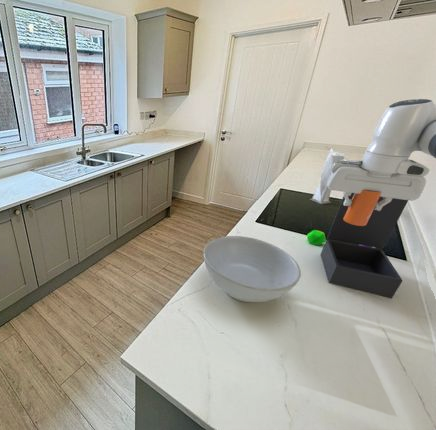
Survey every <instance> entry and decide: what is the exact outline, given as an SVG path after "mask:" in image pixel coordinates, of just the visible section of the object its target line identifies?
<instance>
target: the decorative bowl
mask: <svg viewBox="0 0 436 430" xmlns="http://www.w3.org/2000/svg"><path fill="white" fill-rule="evenodd" d="M203 261H204V265H205V268H206V271H207V273H208V275H209V276H210V278H211V280H212V281H213V282H214V283H215V285H216V286H217V287H218V288H219V289H221V290H222V291H223V292H224V293H226V295H228V296H229V297H231V298H232V299H234V300H237V301H240V302H243V303H261V302H262V303H263V302H269V301H272V300H275V299H278V298H280V297H282V296H284V295H285V294H287V293H289V292H290V291H291V290H293V288H294V287H295V286H296V285H297V284H298V283H299V281H300V279H301V276H302V272H301V268H300V266H299V264H298V262H297V261H296V260H295V259H294V258H293V257H292V256H291V255H290V254H289V253H288V252H287V251H285V250H283V249H281V248H280V247H278V246H276V245H275V244H272V243H269V242H267V241H264V240H262V239H258V238H254V237H248V236H241V235H227V236H220V237H217V238H214V239H212V240H209V242H207V244H206V245H205V246H204V248H203Z"/></svg>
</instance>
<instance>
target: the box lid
mask: <svg viewBox="0 0 436 430" xmlns="http://www.w3.org/2000/svg"><path fill="white" fill-rule="evenodd" d="M353 196H354V193H351V195H350V196H348V198H349V199H351V200H352V198H353ZM382 200H383V198H382V197H380V198H379V200H378V202H377V203H379V202H380V201H382ZM344 201H345V197H344V195H343V196H342V198H341V202H340V204H339V206H338V209H337V212H336V213H335V217H334V219H333V221H332V224H331V226H330V228H329V231H328V234H327V236H326V239H329V240H334V241H339V242H345V243H350V244H355V245H359V244H360V245H365V246H371V247H375V248H377V249H382V250H383V249H384V248H385V246H386V244H387V243H388V241H389V239H390V236H391V235H392V233H393V231H394V229H395V227H396V225H397V223H398V221H399V219H400V217H401V215H402V214H403V211H404V210H405V208H406V206H407V203H408V202H409V200H403V199H395V198H392V200H391V202H389V203H388V204H386V205H384V206H383V207H382V209H381V210H380V211H377V210H373V212H372V214H371V216H370V218H369V220H368V222H367V224H366V225H365V226H357V225H353V224H350V223H347V222H345V221H344V220H343V218H344V216H345V214H346V211H347V209H348V207H349V206H344V204H343V203H344Z"/></svg>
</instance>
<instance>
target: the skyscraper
mask: <svg viewBox="0 0 436 430" xmlns="http://www.w3.org/2000/svg"><path fill="white" fill-rule="evenodd" d="M345 157H346V155H345V152H342V153H341V152H339V151H337V152H336V151H334V149H333V147H331V148H330V150H329V153H328V155H327V157H326V159H325V161H324V164H323V167H322V169H321V173H320V179H319V184H318V186H317V188H316V190H315V192H314V193H313V196H312V198H309V200H310V201H312V202H314V203H317V204H320V205H327V204H331V203H332V201H331V200H330V198H331V197H330V196H331V194H332V193H331V192H332V190H330V189H329V188H328V186H327V181H328V179H329V177H330V176H331V174H332V168H333V165H334V164H335V163H336V162H338V161H342V160H345ZM339 163H341V162H339Z"/></svg>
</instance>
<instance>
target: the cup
mask: <svg viewBox="0 0 436 430" xmlns="http://www.w3.org/2000/svg"><path fill="white" fill-rule="evenodd" d="M380 194H381V192H379V191H371V190H362V192H361V193H360V194H357V193H354V196H353V198H352V201H353V202H352V204H351V206H349V207H348V209H347V211H346V214H345V216H344V218H343V220H344V221H345V222H347V223H350V224H353V225H357V226H365V225H366V224H367V222H368V220H369V218H370V216H371V214H372V212H373V210H374V208H375V206H376V204H377V202H378V200H379V198H380Z"/></svg>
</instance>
